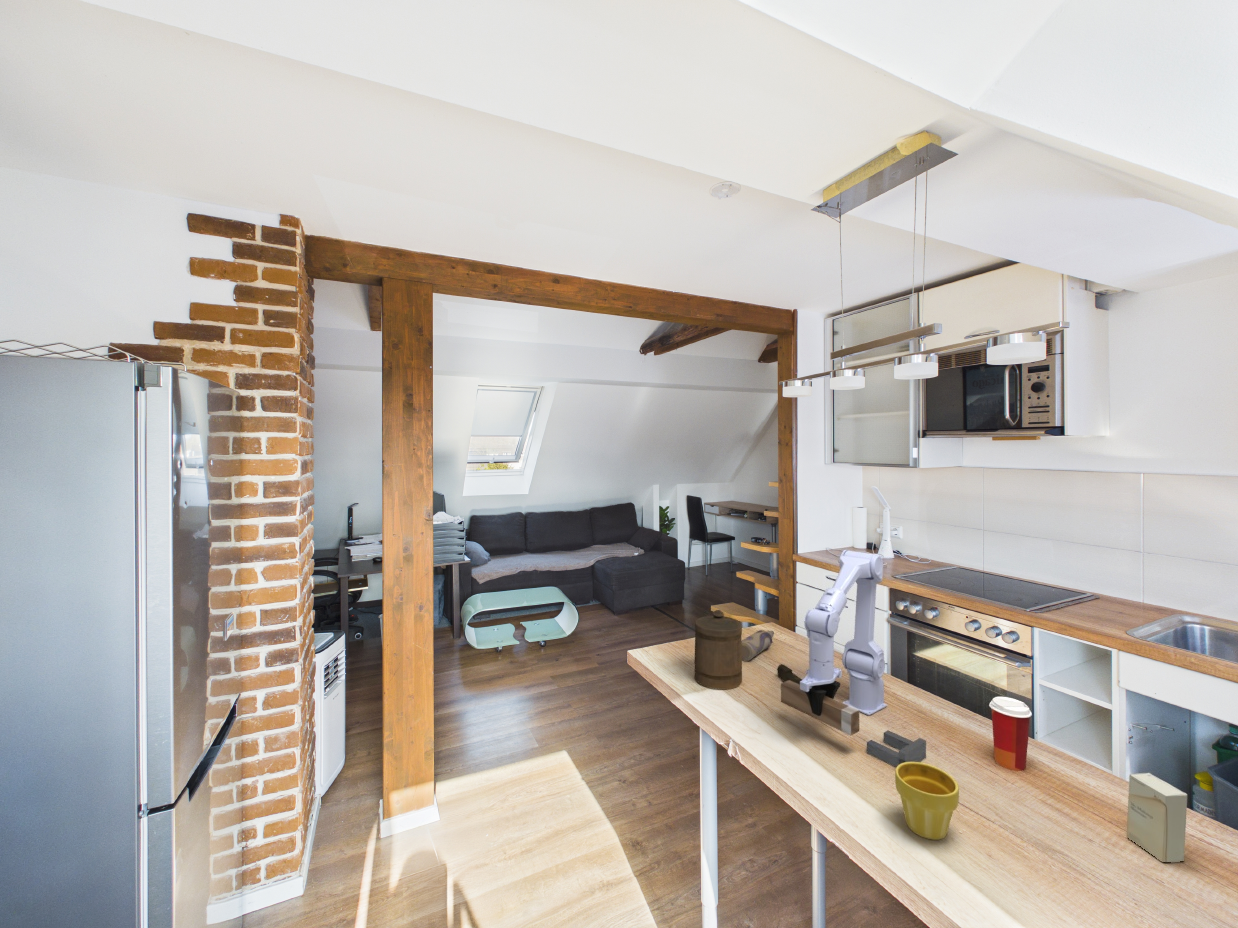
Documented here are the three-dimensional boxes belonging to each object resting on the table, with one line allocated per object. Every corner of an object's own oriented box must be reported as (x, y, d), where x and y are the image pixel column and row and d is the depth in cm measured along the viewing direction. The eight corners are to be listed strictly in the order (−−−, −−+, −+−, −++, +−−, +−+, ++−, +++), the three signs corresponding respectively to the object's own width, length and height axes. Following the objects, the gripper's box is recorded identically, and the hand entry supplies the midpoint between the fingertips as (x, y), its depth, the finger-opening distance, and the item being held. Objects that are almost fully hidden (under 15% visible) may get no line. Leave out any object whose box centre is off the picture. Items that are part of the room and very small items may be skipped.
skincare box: (1125, 837, 95) (1126, 772, 95) (1147, 835, 95) (1148, 771, 95) (1164, 864, 88) (1165, 795, 88) (1187, 862, 89) (1188, 793, 89)
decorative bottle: (752, 664, 174) (752, 645, 174) (732, 659, 179) (732, 640, 179) (783, 642, 194) (782, 625, 194) (764, 638, 199) (764, 621, 199)
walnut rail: (789, 698, 139) (789, 679, 139) (859, 730, 122) (859, 709, 122) (780, 701, 137) (780, 682, 137) (850, 735, 120) (850, 713, 120)
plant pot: (933, 855, 91) (934, 801, 91) (883, 817, 100) (883, 768, 100) (971, 837, 95) (971, 785, 95) (919, 803, 104) (919, 755, 104)
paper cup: (1023, 757, 120) (1023, 698, 120) (1037, 776, 113) (1038, 713, 112) (983, 751, 122) (984, 693, 122) (995, 769, 115) (995, 708, 115)
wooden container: (748, 676, 165) (748, 608, 164) (732, 694, 152) (732, 621, 152) (705, 666, 173) (705, 601, 172) (686, 682, 160) (686, 613, 160)
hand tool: (822, 702, 148) (822, 686, 148) (810, 704, 147) (810, 688, 147) (785, 675, 166) (785, 661, 166) (774, 676, 165) (774, 662, 165)
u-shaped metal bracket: (887, 739, 127) (887, 724, 127) (926, 757, 120) (926, 740, 120) (866, 752, 122) (866, 735, 122) (905, 771, 115) (905, 754, 115)
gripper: (824, 646, 136) (824, 697, 136) (789, 659, 128) (789, 713, 128) (849, 655, 130) (849, 708, 130) (814, 669, 122) (814, 725, 122)
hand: (821, 711), depth 129 cm, fingers closed on walnut rail, 3 cm apart
